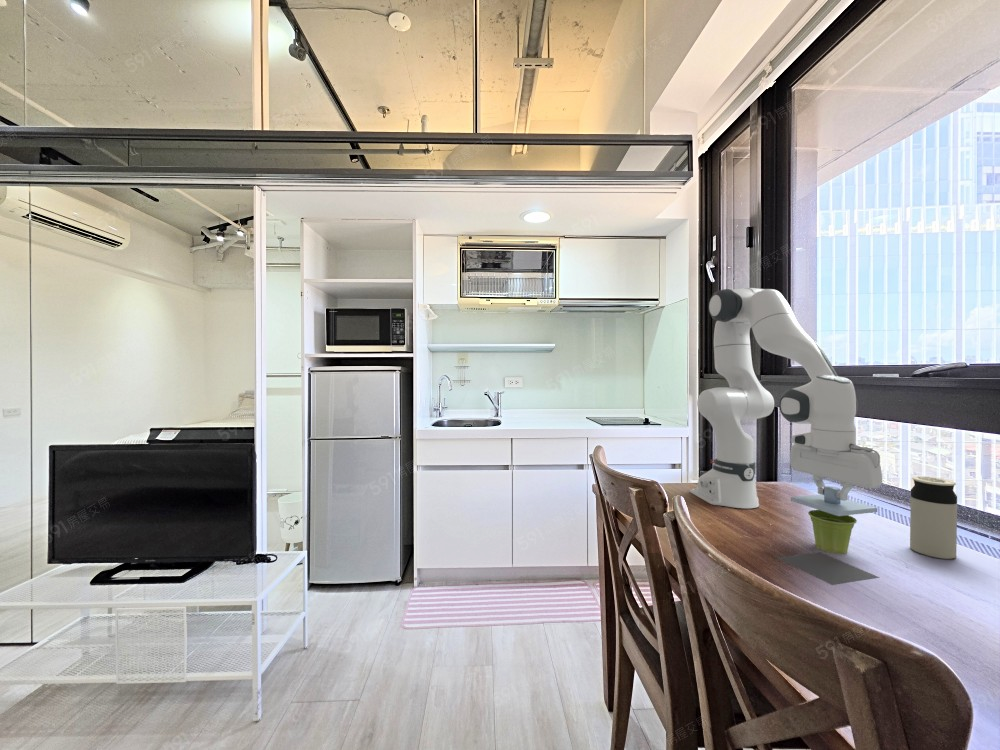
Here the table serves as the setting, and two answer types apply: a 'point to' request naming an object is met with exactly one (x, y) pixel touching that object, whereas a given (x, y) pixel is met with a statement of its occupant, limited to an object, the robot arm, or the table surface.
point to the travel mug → (933, 517)
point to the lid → (833, 503)
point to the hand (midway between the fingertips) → (832, 497)
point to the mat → (827, 568)
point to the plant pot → (832, 531)
